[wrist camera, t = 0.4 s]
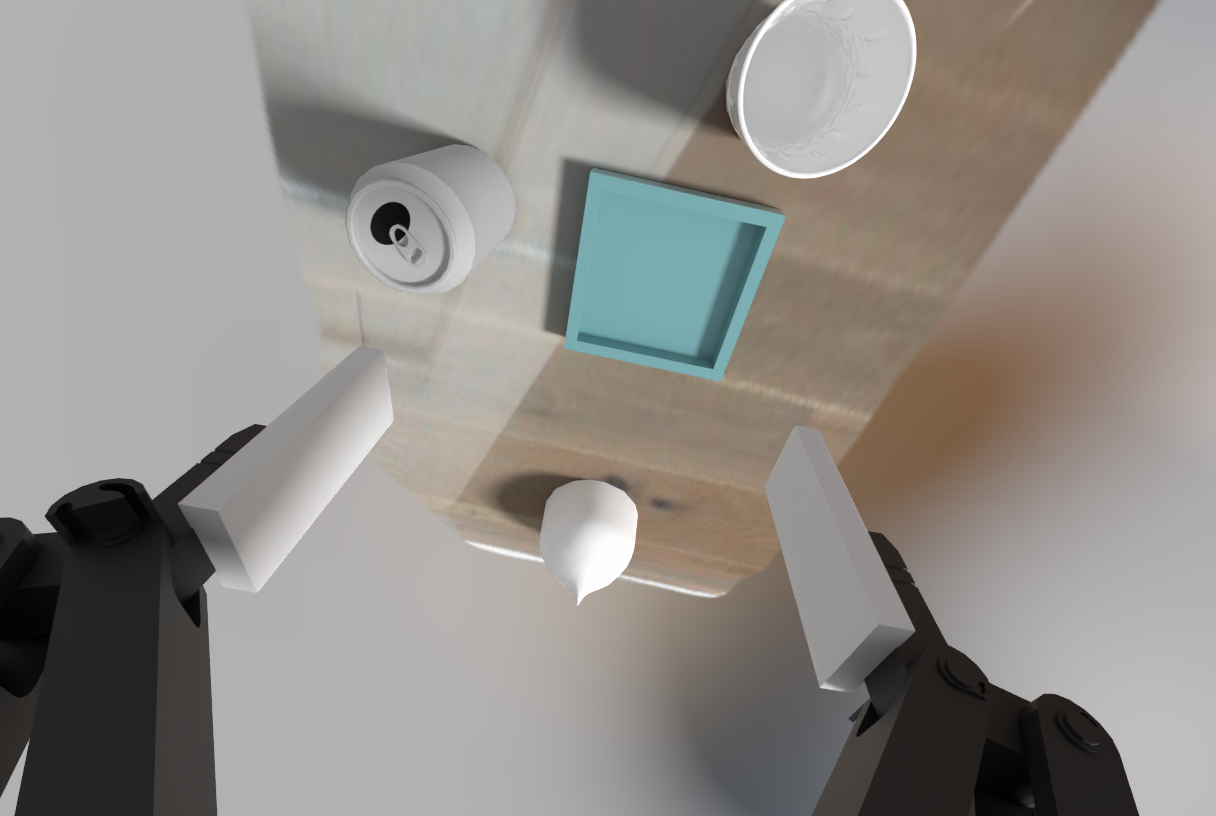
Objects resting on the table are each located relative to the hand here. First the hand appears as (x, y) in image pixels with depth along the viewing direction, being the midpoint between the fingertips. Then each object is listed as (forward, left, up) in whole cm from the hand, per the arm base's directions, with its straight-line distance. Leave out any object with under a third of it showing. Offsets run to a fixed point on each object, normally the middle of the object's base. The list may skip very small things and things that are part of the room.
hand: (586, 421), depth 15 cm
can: (0, -12, -26) cm, 28 cm away
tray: (+3, +4, -25) cm, 26 cm away
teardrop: (+33, +3, -26) cm, 42 cm away
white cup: (-11, +8, -26) cm, 29 cm away
